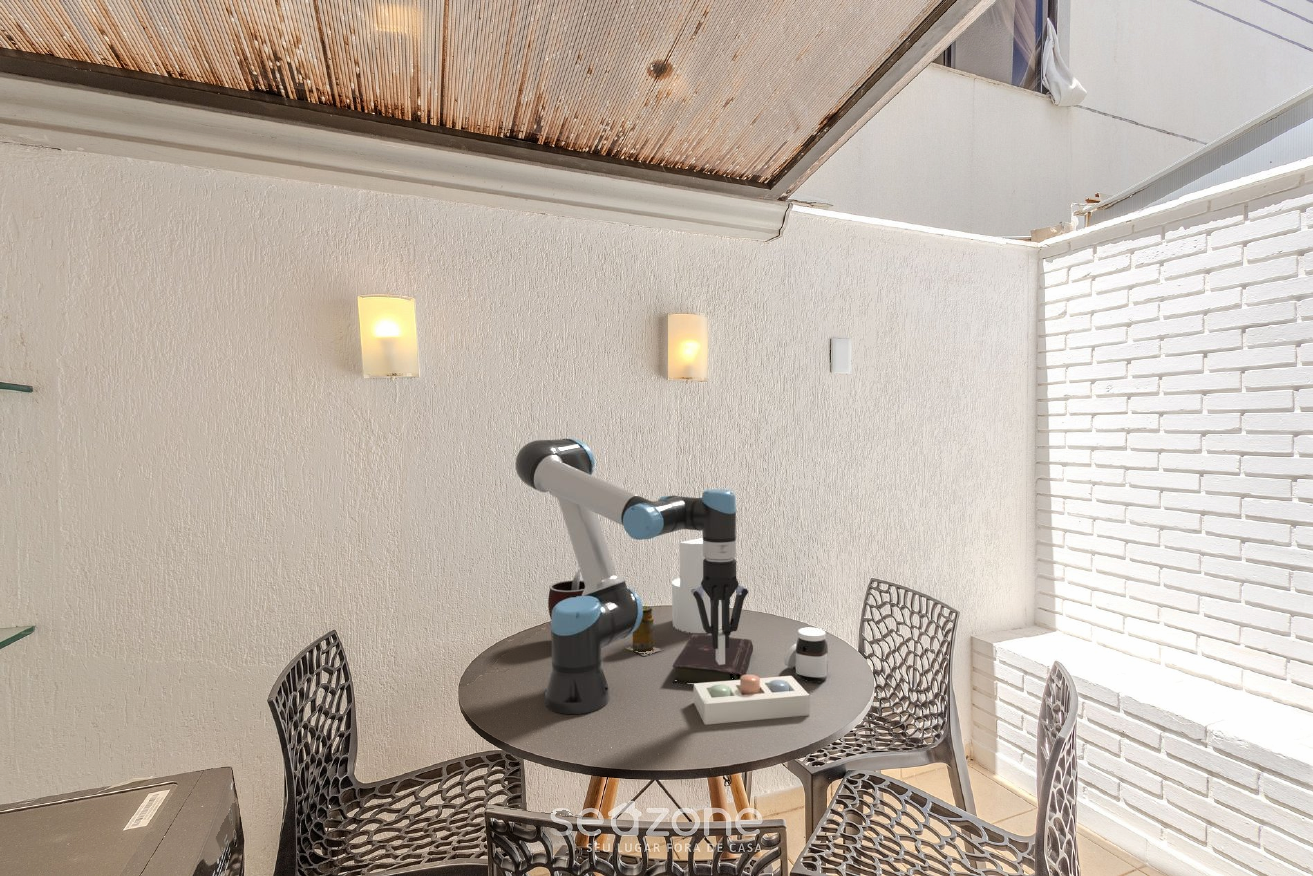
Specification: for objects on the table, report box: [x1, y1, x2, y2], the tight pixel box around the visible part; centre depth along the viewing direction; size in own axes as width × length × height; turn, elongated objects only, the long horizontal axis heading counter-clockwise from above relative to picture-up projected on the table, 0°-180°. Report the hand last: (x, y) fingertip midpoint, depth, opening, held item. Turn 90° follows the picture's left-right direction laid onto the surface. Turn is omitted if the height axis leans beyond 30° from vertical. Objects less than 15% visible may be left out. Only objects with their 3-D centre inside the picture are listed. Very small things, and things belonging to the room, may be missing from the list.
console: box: [693, 675, 811, 725], centre depth 144 cm, size 24×11×4 cm, turn 99°
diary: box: [672, 634, 754, 686], centre depth 169 cm, size 19×25×5 cm
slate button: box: [770, 680, 789, 693], centre depth 145 cm, size 4×4×3 cm
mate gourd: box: [547, 569, 585, 619], centre depth 191 cm, size 16×14×20 cm
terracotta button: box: [739, 674, 761, 695], centre depth 144 cm, size 4×4×3 cm
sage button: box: [711, 684, 730, 698], centre depth 143 cm, size 4×4×3 cm
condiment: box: [626, 605, 661, 657], centre depth 183 cm, size 7×8×12 cm
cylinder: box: [671, 537, 722, 634], centre depth 205 cm, size 17×17×28 cm
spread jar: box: [783, 626, 829, 683], centre depth 163 cm, size 12×11×12 cm
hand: (720, 662), depth 143 cm, fingers closed
